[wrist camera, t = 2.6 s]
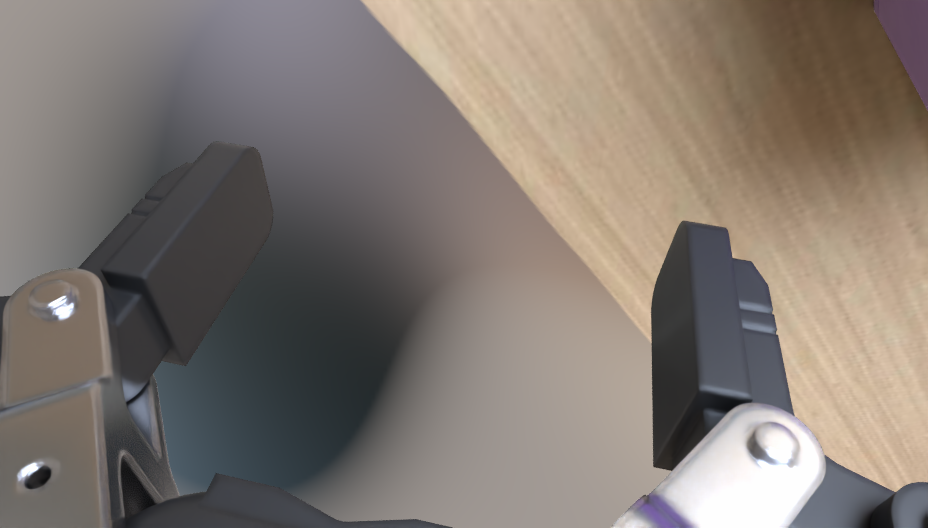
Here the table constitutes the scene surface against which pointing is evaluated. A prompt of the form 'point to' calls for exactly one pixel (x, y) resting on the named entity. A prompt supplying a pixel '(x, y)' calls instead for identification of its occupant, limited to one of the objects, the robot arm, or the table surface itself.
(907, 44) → the box
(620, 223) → the table surface
